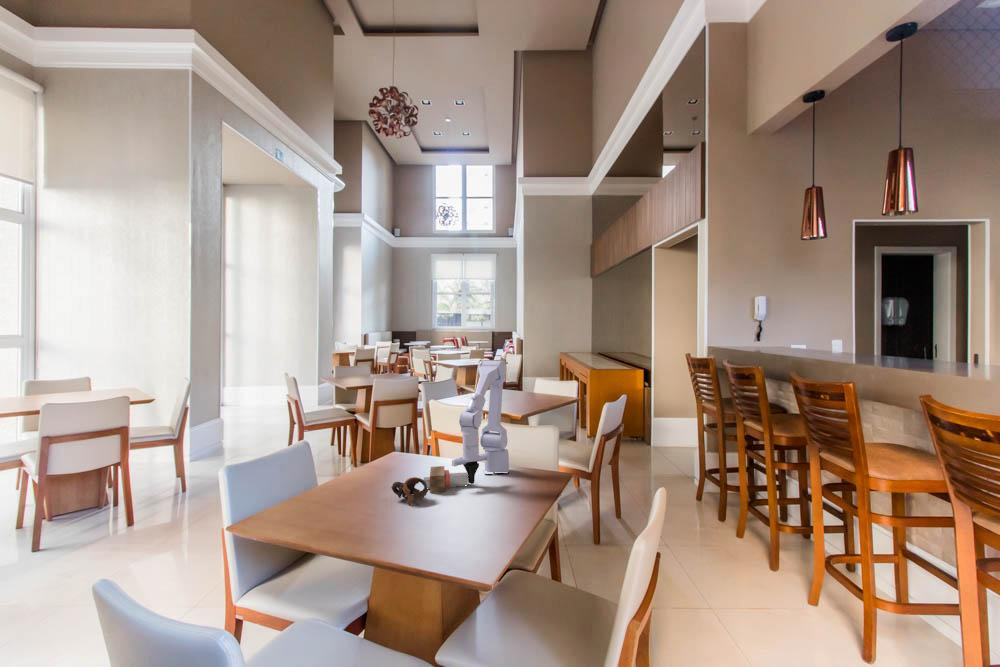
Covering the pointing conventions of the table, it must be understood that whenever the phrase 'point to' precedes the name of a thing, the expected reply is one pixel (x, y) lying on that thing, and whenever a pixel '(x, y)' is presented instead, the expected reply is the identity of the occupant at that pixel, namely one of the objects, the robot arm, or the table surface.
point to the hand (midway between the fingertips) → (471, 483)
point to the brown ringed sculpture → (410, 489)
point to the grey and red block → (451, 479)
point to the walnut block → (437, 479)
